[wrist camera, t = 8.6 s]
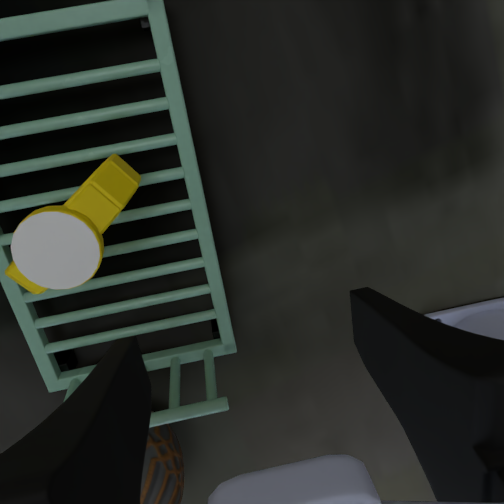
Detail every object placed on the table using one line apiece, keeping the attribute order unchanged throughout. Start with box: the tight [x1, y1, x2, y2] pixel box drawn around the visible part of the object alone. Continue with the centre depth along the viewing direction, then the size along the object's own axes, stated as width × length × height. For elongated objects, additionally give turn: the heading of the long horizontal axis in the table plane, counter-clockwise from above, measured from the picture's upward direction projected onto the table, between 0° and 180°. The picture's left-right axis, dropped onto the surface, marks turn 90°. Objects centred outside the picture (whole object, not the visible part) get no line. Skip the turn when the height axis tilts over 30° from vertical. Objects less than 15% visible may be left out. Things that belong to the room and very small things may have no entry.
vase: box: [140, 411, 184, 504], centre depth 24 cm, size 7×7×9 cm
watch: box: [5, 154, 141, 294], centre depth 17 cm, size 6×3×6 cm, turn 133°
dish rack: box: [0, 0, 237, 428], centre depth 19 cm, size 10×17×6 cm, turn 9°
